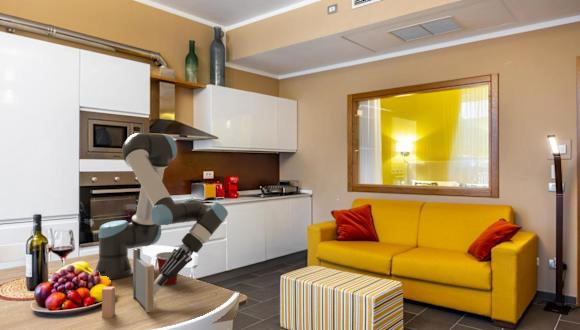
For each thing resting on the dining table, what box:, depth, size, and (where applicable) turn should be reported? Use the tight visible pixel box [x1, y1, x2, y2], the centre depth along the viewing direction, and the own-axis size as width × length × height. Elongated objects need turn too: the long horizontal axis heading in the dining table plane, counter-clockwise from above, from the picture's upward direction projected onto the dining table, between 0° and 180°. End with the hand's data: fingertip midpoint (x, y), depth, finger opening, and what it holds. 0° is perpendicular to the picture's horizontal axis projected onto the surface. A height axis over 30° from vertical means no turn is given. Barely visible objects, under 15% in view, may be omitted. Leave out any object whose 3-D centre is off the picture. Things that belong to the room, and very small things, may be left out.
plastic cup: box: [155, 251, 179, 286], centre depth 165 cm, size 11×11×12 cm
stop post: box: [101, 286, 116, 318], centre depth 131 cm, size 3×3×9 cm
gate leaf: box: [136, 257, 155, 313], centre depth 139 cm, size 17×2×15 cm, turn 34°
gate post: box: [132, 248, 141, 300], centre depth 147 cm, size 2×2×18 cm
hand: (151, 292), depth 139 cm, fingers closed
